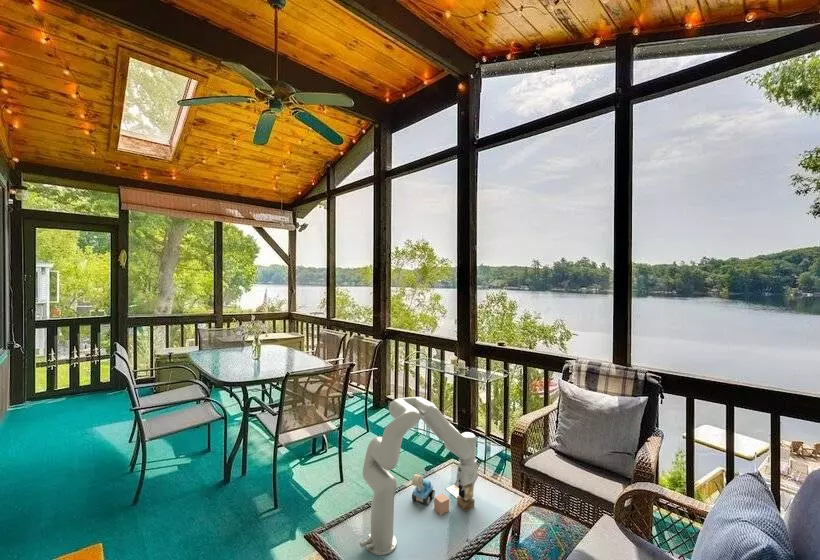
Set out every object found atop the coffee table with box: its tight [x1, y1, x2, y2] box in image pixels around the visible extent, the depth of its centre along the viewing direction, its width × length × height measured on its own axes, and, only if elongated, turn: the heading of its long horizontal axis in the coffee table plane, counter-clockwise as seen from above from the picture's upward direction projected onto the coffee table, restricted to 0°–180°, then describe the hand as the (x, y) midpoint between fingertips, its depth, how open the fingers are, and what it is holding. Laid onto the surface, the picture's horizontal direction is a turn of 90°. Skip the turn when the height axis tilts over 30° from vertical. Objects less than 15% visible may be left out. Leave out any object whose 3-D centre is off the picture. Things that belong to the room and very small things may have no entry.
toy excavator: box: [411, 473, 436, 506], centre depth 186 cm, size 9×17×17 cm, turn 152°
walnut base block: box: [456, 496, 475, 512], centre depth 185 cm, size 6×6×4 cm
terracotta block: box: [433, 493, 450, 515], centre depth 181 cm, size 5×5×6 cm
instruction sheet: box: [445, 484, 459, 499], centre depth 198 cm, size 12×9×1 cm
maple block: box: [461, 483, 475, 501], centre depth 185 cm, size 5×5×6 cm
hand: (465, 494), depth 185 cm, fingers closed on maple block, 5 cm apart
